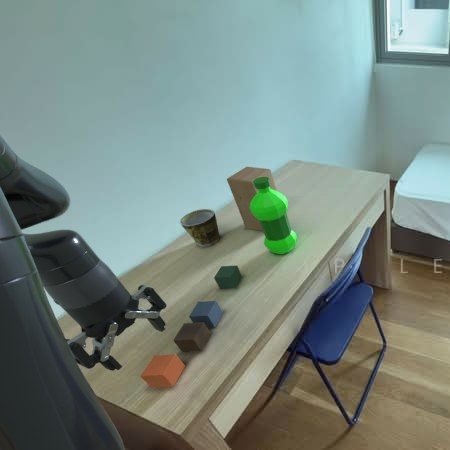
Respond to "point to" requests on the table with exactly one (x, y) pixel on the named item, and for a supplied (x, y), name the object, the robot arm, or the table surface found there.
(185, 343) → the block
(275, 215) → the plastic bottle
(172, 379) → the block
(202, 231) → the ceramic cup
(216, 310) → the block
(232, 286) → the block
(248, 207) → the wooden block
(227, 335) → the table surface
